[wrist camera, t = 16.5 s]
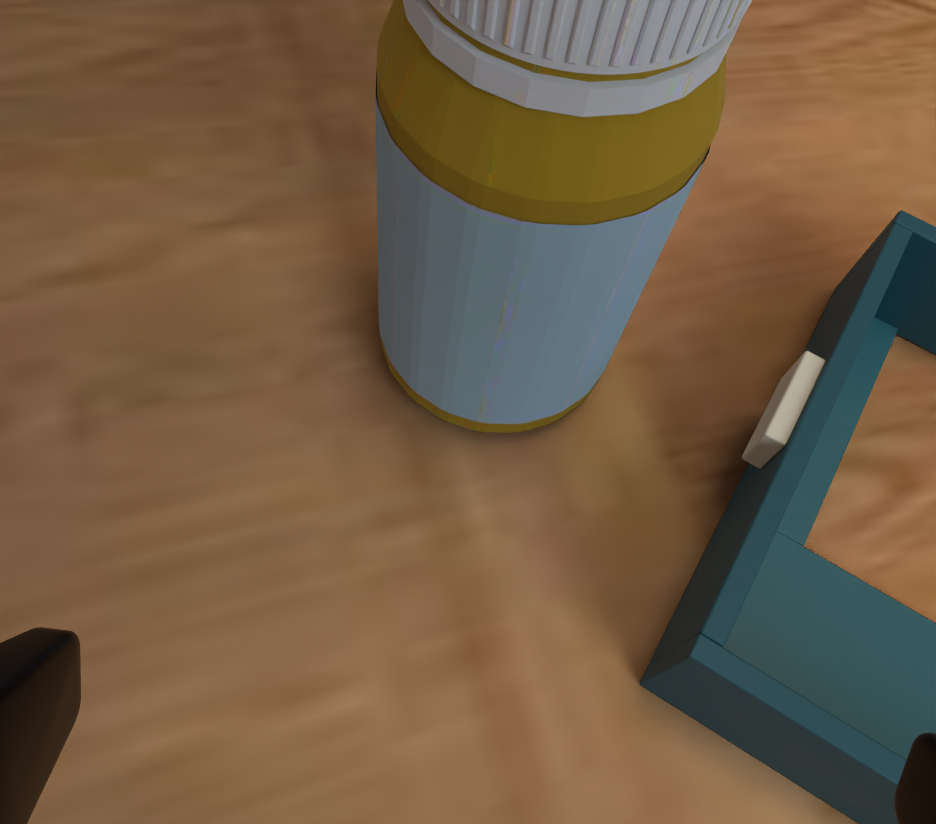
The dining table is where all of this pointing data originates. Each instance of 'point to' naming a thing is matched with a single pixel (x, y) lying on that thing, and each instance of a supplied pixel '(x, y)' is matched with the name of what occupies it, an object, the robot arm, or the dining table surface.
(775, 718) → the teal square tray
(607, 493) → the dining table surface
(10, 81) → the dining table surface
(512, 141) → the bottle
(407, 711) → the dining table surface
